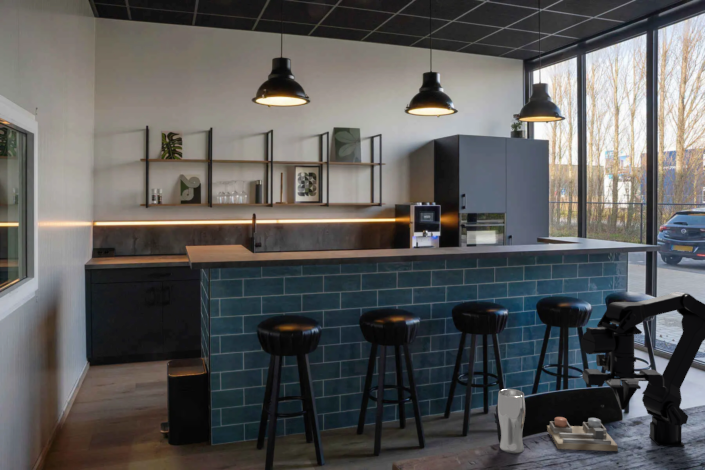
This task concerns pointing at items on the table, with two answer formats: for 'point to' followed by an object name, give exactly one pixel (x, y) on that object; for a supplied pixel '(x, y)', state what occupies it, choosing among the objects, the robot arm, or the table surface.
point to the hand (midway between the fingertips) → (622, 409)
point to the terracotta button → (560, 422)
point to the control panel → (580, 438)
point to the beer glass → (511, 419)
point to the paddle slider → (598, 433)
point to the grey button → (594, 422)
